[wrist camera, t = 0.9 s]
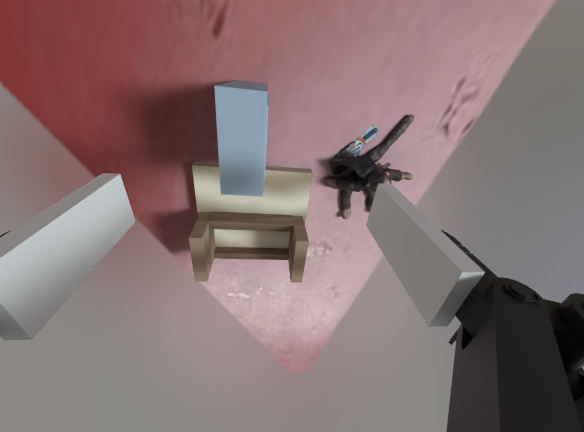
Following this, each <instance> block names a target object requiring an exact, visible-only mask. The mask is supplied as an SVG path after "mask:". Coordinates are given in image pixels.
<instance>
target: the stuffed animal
mask: <svg viewBox="0 0 584 432" xmlns="http://www.w3.org/2000/svg"><path fill="white" fill-rule="evenodd" d="M413 120H414V116H413V115H409V116H407V117H405V118H404V119H403V120H402V121H401V122H400V123H399V125H398V126H397V127H396V128H395V129H394V130H393V131H392V132H391V133H390V135H389V136H388V137H387V138H386V140H385V141H384V142H383V143H381V144H380V145H378V146H376V147H375V148H373V149H372V150H370V151H369V152H368V154H367V155H365V156H362V157H361V158H359V152H360V150H361V149H362V148H363V147H364V146H365V145H366V144H367V143H368V142H369V141H370V140H371V139H372V138H373V137H374V136H375V134H376V133H377V131H378V126H377V125H372V126H371V127H370V128H368V129H367V130H366V131H365V132H364V133H363V134H362V135H361V136H360V137H358V138H357V139H356V140H354V141H352V142H351V143H349V144H348V145H347V146H345V147H344V148H343V149H341V150H340V151H339V152H338V153H337V154H336V155H335V156H334V157H333V159H332V161H329V163H330V167H331V169H332V173H333V174H334V175H339V174H341V173H342V172H344V171H345V170H347V169H349V168H350V169H352V170H354V171H353V173H352V174H351V175H350V177H328V178H326V179H325V182H324V183H325V185H328V186H330V187H332V188H334V189H341V190H342V191H341V209H342V217H343V219H348V218H349V217H350V215H351V210H350V207H351V203H350V198H351V194H352V191H357V192H359V191H361V190H362V189H364V188H365V190H366V192H367V196H368V197H367V200H366V202H367V207H368V209H369V211H370V210H371V207H372V203H373V200H374V197H375V193H376V190H377V186H378V184H391V180H394V181H400V180H402V179H407V180H412V179H413V178H414V177H413V175H412V174H410V173H407V172H401V171H400V170H393V169H389V168H387V167H388V166H390V165H391V163H386V164H385V165H381V163H378V164H377V165H376V164H375V162H377V161H378V160H379V159H380V158H381V157H382V156H383V155H384V154H385V152H386V151H387V150H388V148H389V147H390V146H391V145H392V144H393V143H394V142H395V141H396V140H397V139H398V138H399V137H400V135H401V134H402V133H403V132H404V131H405V130H406V129H407V128H408V126H409V125H410V124H411V122H412V121H413Z"/></svg>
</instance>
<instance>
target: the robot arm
mask: <svg viewBox="0 0 584 432" xmlns="http://www.w3.org/2000/svg"><path fill="white" fill-rule="evenodd" d="M134 223H135V218H134V215H133V212H132V209H131V206H130V203H129V200H128V197H127V194H126V191H125V188H124V185H123V181H122V178H121V175H120V174H110V173H103V174H101V175H99V176H98V177H96V178H95V179H93V180H91V181H90V182H88V183H87V184H85V185H84V186H82V187H80V188H79V189H77V190H75V191H74V192H72V193H71V194H69V195H67V196H66V197H64V198H63V199H61V200H60V201H58V202H56V203H55V204H54V205H52V206H50V207H49V208H47V209H45V210H44V211H42V212H40V213H39V214H37V215H36V216H34V217H32V218H31V219H29V220H28V221H26V222H24V223H23V224H21V225H20V226H18V227H17V228H15V229H13V230H11V231H9V232H6V233H4V234H3V235H1V236H0V336H1V337H2V339H3V340H23V339H24V340H25V339H33V338H34V337H35V335H36V334H37V333H38V332H39V331H40V330H41V328H42V327H43V326H44V325H45V324H46V323H47V322H48V321H49V319H50V318H51V317H52V316H53V315H54V314H55V312H56V311H57V310H58V309H59V308H60V307H61V306H62V305H63V304H64V302H65V301H66V300H67V299H68V298H69V297H70V295H71V294H72V293H73V292H74V291H75V290H76V289H77V288H78V286H79V285H80V284H81V283H82V282H83V281H84V279H85V278H86V277H87V276H88V275H89V274H90V273H91V272H92V270H93V269H94V268H95V267H96V266H97V265H98V264H99V262H100V261H101V260H102V259H103V258H104V257H105V256H106V255H107V253H108V252H109V251H110V250H111V248H113V246H114V245H115V244H116V243H117V242H118V241H119V239H120V238H121V237H122V236H123V235H124V234H125V233H126V232H127V230H128V229H129V228H130V227H131V226H132V225H133V224H134ZM366 226H367V228H368V229H369V231H370V232H371V234H372V236H373V237H374V239H375V241H376V242H377V244H378V245H379V247H380V249H381V250H382V252H383V253H384V255H385V257H386V258H387V260H388V262H389V263H390V265H391V266H392V268H393V270H394V271H395V273H396V274H397V276H398V278H399V279H400V281H401V283H402V284H403V286H404V288H405V289H406V291H407V292H408V294H409V296H410V297H411V299H412V300H413V302H414V304H415V305H416V307H417V308H418V310H419V312H420V313H421V315H422V317H423V318H424V320H425V322H426V323H427V325H428V326H429V327H432V326H448V325H449V323H450V322H451V321H452V319H453V318H454V316H455V315H456V317H457V318H458V319H459V321H460V322H461V323H462V324H461V325H460V327H459V328H458V329H457V331H456V332H455V333H454V335H453V336H452V338H451V339H450V341H449V343H450V344H451V345H452V344H453V342H454V341H456V349H455V358H454V368H453V377H452V386H451V396H450V405H449V414H448V423H447V432H584V370H583V369H582V366H584V295H583V294H577V293H575V294H570V295H569V296H568V297H567V298H566V299H565V300H564V301H563V302H562V303H558V302H554V301H549V300H545V299H543V298H542V297H541V296H540V295H538V294H537V293H536V292H535V291H534V290H532V289H531V288H529V287H528V286H526V285H524V284H522V283H520V282H518V281H515V280H511V279H508V278H500V277H499V278H498V277H497V276H496V275H495V274H494V273H493V272H492V271H490V270H489V269H488V268H487V267H486V266H485V265H484V264H483V263H482V262H481V261H479V260H478V259H477V258H476V257H475V256H474V255H473V254H470V251H469V250H467V249H466V248H465V247H463V245H462V244H461V243H460V242H459V241H458V240H457V239H455V238H454V237H453V236H451V235H449V234H448V233H446V232H444V231H443V230H440V229H439V228H438V227H437V226H435V225H434V224H433V223H432V222H431V221H430V220H429V219H428V218H427V217H426V216H425V215H424V214H423V213H422V212H421V211H420V210H419V209H417V208H416V207H415V206H414V205H413V204H412V203H411V202H410V201H409V200H408V199H407V198H406V197H405V196H404V195H403V194H402V193H401V192H400V191H398V190H397V189H396V188H395V187H394V186H393V185H392V184H378V186H377V190H376V193H375V197H374V200H373V203H372V207H371V210H370V214H369V217H368V221H367V224H366Z"/></svg>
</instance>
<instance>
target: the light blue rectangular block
mask: <svg viewBox="0 0 584 432" xmlns="http://www.w3.org/2000/svg"><path fill="white" fill-rule="evenodd" d="M214 87H215V104H216V121H217V138H218V155H219V172H220V189H221V194H222V195H241V196H260V197H263V184H264V181H265V165H266V143H267V122H268V95H267V94H268V84H264V83H255V82H247V81H238V80H235V81H231V82H227V83H223V84H219V85H215V86H214Z"/></svg>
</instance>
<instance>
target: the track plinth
mask: <svg viewBox="0 0 584 432" xmlns="http://www.w3.org/2000/svg"><path fill="white" fill-rule="evenodd" d="M192 170H193V179H194V187H195V195H196V204H197V212H198V219H197V221H196V223H195V226H194V228H193V230H192V232H191V234H190V236H189V244H190V251H191V257H192V264H193V271H194V277H195V281H205V282H207V280H208V277H209V273H210V270H211V267H212V263H213V260H214V258H222V259H272V260H288V261H289V270H290V279H291V282H302V277H303V272H304V266H305V260H306V254H307V248H308V243H309V241H308V237H307V232H306V228H305V220H306V213H307V207H308V200H309V194H310V187H311V181H312V174H313V173H312V171H311V169H300V168H285V167H271V166H265V181H264V184H263V197H260V196H241V195H222V194H221V189H220V172H219V163H213V162H198V161H195V162H194V163H193V165H192Z"/></svg>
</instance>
